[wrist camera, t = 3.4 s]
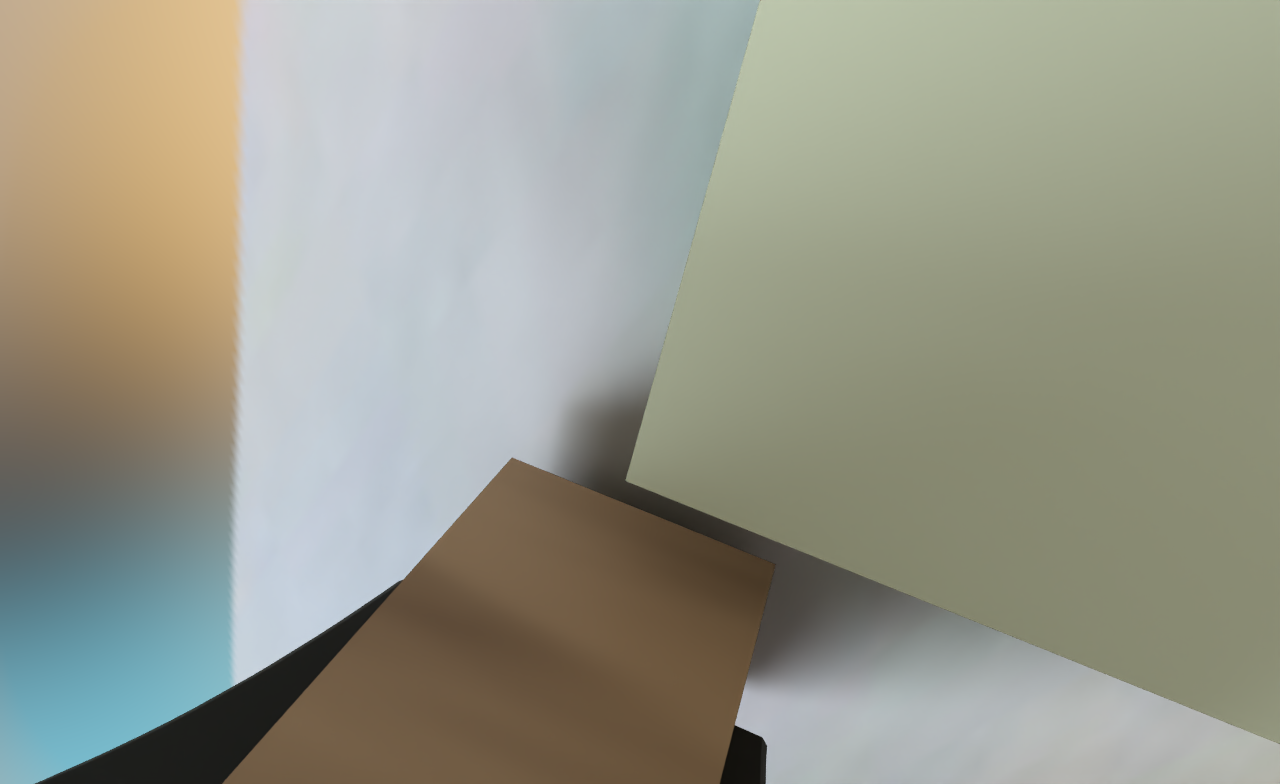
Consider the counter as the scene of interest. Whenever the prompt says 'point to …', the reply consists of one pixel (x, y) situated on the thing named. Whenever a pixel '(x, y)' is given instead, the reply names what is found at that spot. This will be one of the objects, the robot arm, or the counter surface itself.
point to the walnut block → (536, 654)
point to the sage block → (1002, 324)
